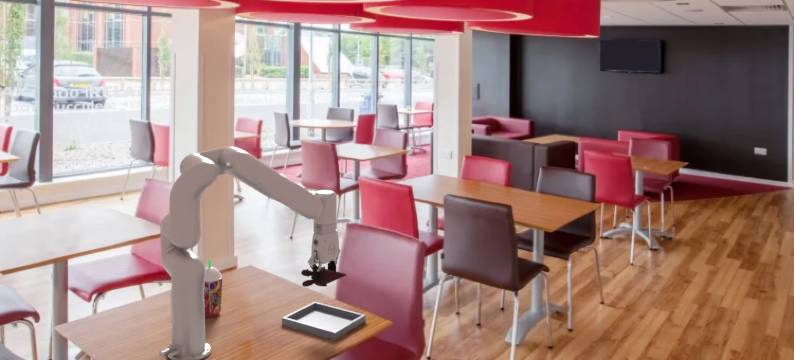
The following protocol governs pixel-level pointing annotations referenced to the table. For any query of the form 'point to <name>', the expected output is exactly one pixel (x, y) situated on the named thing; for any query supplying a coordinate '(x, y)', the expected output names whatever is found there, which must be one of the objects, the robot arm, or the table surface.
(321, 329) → the serving tray
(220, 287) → the smoothie
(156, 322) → the table surface
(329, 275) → the icecream
